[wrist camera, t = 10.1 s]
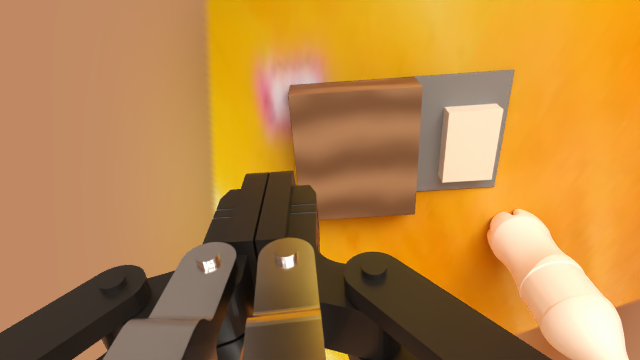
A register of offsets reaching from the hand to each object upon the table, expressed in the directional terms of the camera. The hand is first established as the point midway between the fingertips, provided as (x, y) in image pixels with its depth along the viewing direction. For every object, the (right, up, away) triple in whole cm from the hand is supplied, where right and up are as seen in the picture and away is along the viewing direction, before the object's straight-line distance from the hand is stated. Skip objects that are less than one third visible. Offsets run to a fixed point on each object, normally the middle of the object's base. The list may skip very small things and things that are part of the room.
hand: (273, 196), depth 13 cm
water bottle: (+28, -5, +41) cm, 50 cm away
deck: (+6, +5, +35) cm, 36 cm away
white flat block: (+19, +4, +33) cm, 38 cm away
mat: (+18, +6, +35) cm, 40 cm away
